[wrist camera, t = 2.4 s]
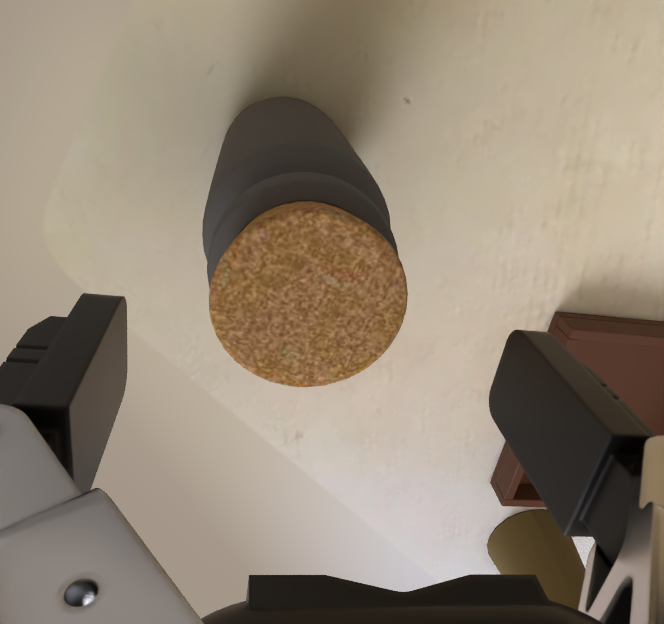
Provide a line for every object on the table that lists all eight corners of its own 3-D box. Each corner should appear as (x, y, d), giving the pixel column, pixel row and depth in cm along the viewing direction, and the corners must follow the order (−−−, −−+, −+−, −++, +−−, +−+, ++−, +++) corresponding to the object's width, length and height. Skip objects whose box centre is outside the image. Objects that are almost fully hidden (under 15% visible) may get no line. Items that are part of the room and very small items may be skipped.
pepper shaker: (546, 569, 43) (630, 728, 33) (475, 564, 42) (541, 729, 32) (580, 513, 40) (681, 668, 31) (504, 506, 39) (586, 666, 30)
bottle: (194, 166, 26) (130, 322, 13) (277, 65, 24) (302, 124, 11) (289, 243, 28) (317, 443, 15) (370, 156, 27) (481, 293, 14)
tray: (555, 311, 32) (573, 329, 30) (721, 327, 34) (748, 345, 32) (489, 482, 38) (501, 506, 36) (635, 487, 40) (653, 510, 38)
